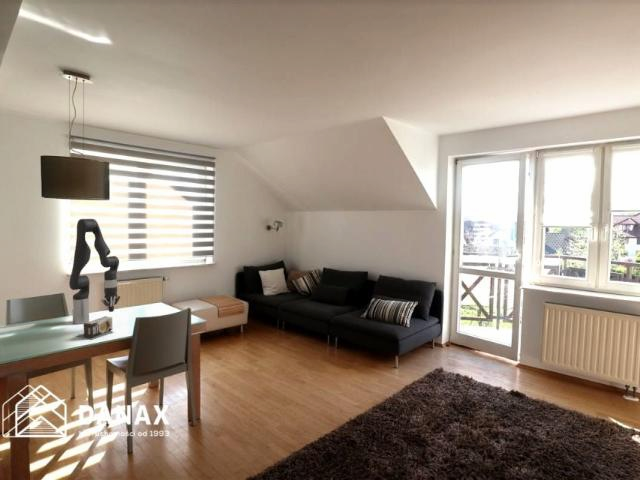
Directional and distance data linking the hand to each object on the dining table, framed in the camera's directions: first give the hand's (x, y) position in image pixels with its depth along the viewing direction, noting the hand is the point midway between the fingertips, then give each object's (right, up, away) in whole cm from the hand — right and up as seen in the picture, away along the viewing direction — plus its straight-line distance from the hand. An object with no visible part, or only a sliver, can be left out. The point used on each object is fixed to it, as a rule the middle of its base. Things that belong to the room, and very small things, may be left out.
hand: (111, 311), depth 237 cm
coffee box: (0, -7, -2) cm, 7 cm away
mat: (-4, -13, -10) cm, 17 cm away
